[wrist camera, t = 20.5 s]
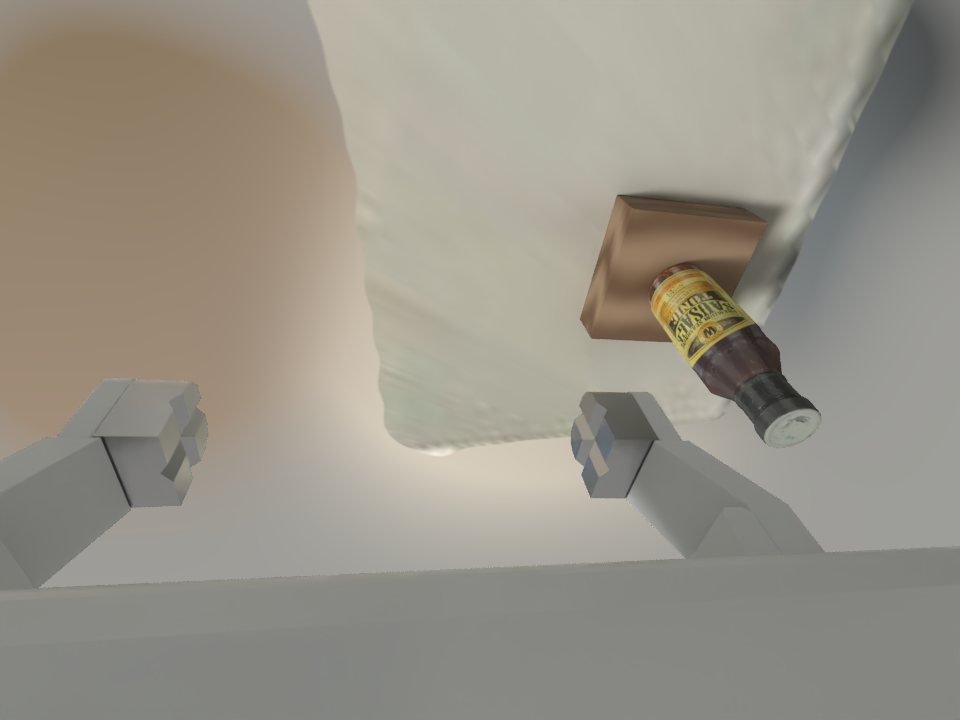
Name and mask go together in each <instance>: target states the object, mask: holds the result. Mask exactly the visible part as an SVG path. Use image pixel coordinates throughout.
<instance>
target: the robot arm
mask: <svg viewBox="0 0 960 720" xmlns="http://www.w3.org/2000/svg"><path fill="white" fill-rule="evenodd" d="M200 399H201V395H200V392H199V389H198V385H197V384H196V383H194V382H192V381H170V380H149V379H137V380H136V379H119V378H117V379H116V378H108V379H105V380H103V381H101V382H100V383H99V384H98V385H97V387H96V388H95V389H94V391H93V392H92V393H91V394H90V395H89V397H88V398H87V399H86V400H85V402H84V403H83V404H82V405H81V407H80V408H79V409H78V410H77V412H76V413H75V414H74V415H73V417H72V418H71V419H70V421H69V422H68V423H67V424H66V426H65V427H64V428H63V429H62V430H61V432H60V433H59V434H58V435H57V437H46V438H44V439H42V440H40V441H38V442H36V443H34V444H32V445H30V446H28V447H26V448H24V449H22V450H20V451H18V452H16V453H14V454H12V455H10V456H8V457H6V458H4V459H2V460H0V720H960V546H952V547H931V548H911V549H890V550H869V551H847V552H824V550H823V549H822V548H821V546H820V545H819V544H818V542H817V541H816V540H815V539H814V537H813V536H812V535H811V534H810V532H809V531H808V530H807V529H806V527H805V526H804V524H803V523H802V522H801V521H800V519H799V518H798V517H797V515H796V514H795V513H794V512H793V510H792V509H791V508H790V506H789V505H788V504H786V503H785V502H783V501H782V500H780V499H779V498H777V497H775V496H774V495H772V494H771V493H769V492H768V491H766V490H764V489H763V488H761V487H760V486H758V485H757V484H755V483H754V482H752V481H750V480H749V479H747V478H746V477H744V476H743V475H741V474H740V473H738V472H736V471H735V470H733V469H732V468H730V467H729V466H727V465H726V464H724V463H722V462H721V461H719V460H718V459H716V458H715V457H713V456H712V455H710V454H708V453H707V452H705V451H704V450H702V449H701V448H699V447H697V446H696V445H694V444H693V443H691V442H690V441H682V439H681V438H680V436H679V435H678V433H677V432H676V430H675V429H674V427H673V425H672V424H671V422H670V421H669V419H668V418H667V416H666V415H665V413H664V412H663V410H662V409H661V407H660V406H659V404H658V403H657V401H656V400H655V398H654V397H653V395H652V394H650V393H648V392H627V393H619V392H586V393H585V394H584V395H583V397H582V400H581V402H580V408H581V410H582V412H583V413H582V414H581V415H580V416H579V417H577V418H576V419H575V420H574V423H573V427H572V430H571V446H572V451H573V454H574V457H575V459H576V460H577V461H578V462H579V463H581V464H582V465H583V466H584V469H583V472H582V477H583V480H584V482H585V485H586V487H587V490H588V492H589V495H590V497H591V498H626V501H627V502H628V503H629V504H631V506H632V507H634V509H636V510H637V511H638V512H639V513H640V514H641V515H642V516H643V517H644V518H645V519H646V520H647V521H648V522H649V523H650V524H651V525H652V526H653V527H654V528H655V529H656V530H657V531H658V532H659V533H660V534H661V535H662V536H663V537H664V538H665V539H666V540H667V541H668V542H669V543H670V544H671V545H673V547H675V549H677V550H678V551H679V552H680V553H681V554H682V555H683V556H684V557H685V558H686V559H669V560H648V561H624V562H604V563H603V562H602V563H581V564H558V565H537V566H516V567H493V568H471V569H452V570H451V569H449V570H429V571H405V572H382V573H360V574H339V575H318V576H317V575H316V576H294V577H273V578H250V579H230V580H229V579H228V580H207V581H184V582H162V583H140V584H119V585H96V586H74V587H53V588H39V587H40V586H41V585H42V584H44V583H45V582H46V581H47V580H48V579H49V578H51V577H52V576H53V575H54V574H55V573H56V572H58V571H59V570H60V569H61V568H63V567H64V566H65V565H66V564H67V563H68V562H70V561H71V560H72V559H73V558H75V557H76V556H77V555H78V554H79V553H80V552H82V551H83V550H84V549H85V548H86V547H88V546H89V545H90V544H91V543H92V542H94V541H95V540H96V539H97V538H98V537H100V536H101V535H102V534H103V533H104V532H105V531H107V530H108V529H109V528H110V527H111V526H113V524H115V523H116V522H117V521H119V520H120V519H121V518H122V517H123V516H125V515H126V514H127V513H128V512H129V511H130V510H131V508H133V507H158V506H181V504H182V502H183V500H184V497H185V495H186V493H187V491H188V489H189V486H190V484H191V482H192V479H193V476H192V472H191V467H192V466H193V465H195V464H196V463H198V462H199V461H201V459H202V456H203V454H204V451H205V449H206V443H207V437H208V427H207V420H206V416H205V414H204V413H203V412H202V411H200V410H199V409H198V408H197V405H198V403H199V401H200Z"/></svg>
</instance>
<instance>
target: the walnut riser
mask: <svg viewBox="0 0 960 720" xmlns="http://www.w3.org/2000/svg"><path fill="white" fill-rule="evenodd" d="M767 224H768V223H767V222H766V221H764V220H762V219H761V218H759V217H757V216H756V215H754V214H752V213H750V212H749V211H747V210H745V209H742V208H732V207H723V206H714V205H704V204H695V203H686V202H676V201H667V200H658V199H648V198H639V197H630V196H620V195H617V198H616V201H615V205H614V208H613V211H612V215H611V218H610V221H609V225H608V228H607V231H606V235H605V238H604V241H603V245H602V248H601V251H600V255H599V258H598V261H597V265H596V268H595V271H594V275H593V278H592V281H591V285H590V288H589V291H588V295H587V298H586V301H585V305H584V308H583V311H582V315H581V318H580V320H581V321H582V323H583V325H584V327H585V328H586V330H587V332H588V334H589V335H590V337H591V339H613V340H634V341H656V342H672V340H671V339H670V337H669V336H668V334H667V333H666V331H665V330H664V328H663V327H662V326H661V324H660V323H659V321H658V320H657V319H656V317H655V316H654V314H653V312H652V310H651V307H650V304H649V298H648V292H649V290H650V288H651V285H652V284H653V282H654V281H655V279H656V278H657V277H658V276H659V275H660V274H661V273H662V272H664V271H665V270H666V269H669V268H671V267H674V266H677V265H681V264H691V265H693V266H696V267H698V268H700V269H701V270H702V271H703V272H705V273H707V274H708V275H709V276H710V277H711V278H712V279H713V280H714V281H715V282H716V283H717V284H718V285H719V286H720V287H721V288H722V289H723V290H724V291H725V292H726V293H727V294H728V295H729V296H730V297H732V295H733V293H734V291H735V289H736V287H737V285H738V283H739V281H740V279H741V277H742V275H743V273H744V270H745V268H746V266H747V264H748V262H749V260H750V258H751V256H752V254H753V252H754V250H755V248H756V246H757V244H758V242H759V240H760V238H761V236H762V234H763V232H764V230H765V228H766V226H767Z"/></svg>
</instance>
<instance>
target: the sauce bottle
mask: <svg viewBox="0 0 960 720" xmlns="http://www.w3.org/2000/svg"><path fill="white" fill-rule="evenodd" d="M648 298H649V304H650V307H651V310H652V312H653V314H654V316H655V317H656V319H657V320H658V321H659V323H660V324H661V326H662V327H663V328H664V330H665V331H666V333H667V334H668V336H669V337H670V339H671V340H672V342H673V343H674V344H675V346H676V347H677V349H678V350H679V351H680V353H681V354H682V356H683V357H684V358H685V360H686V361H687V362H688V364H689V365H690V366H691V368H692V369H693V370H694V371H695V372H696V373H697V375H698V376H699V377H700V379H701V380H702V381H703V383H704V384H705V385H706V387H707V388H708V389H709V391H710V392H711V393H713V394H715V395H718V396H720V397H723V398H726V399H730V400H733V401H735V402H736V404H737V405H738V406H739V407H740V408H741V409H742V410H743V411H744V412H745V413H746V415H747V416H748V417H749V419H750V420H751V421H752V422H753V424H754V427H755V430H756V432H757V434H758V435H759V436H760V437H761V439H762V440H763V441H764V442H765V444H767V445H768V446H771V447H775V448H785V447H790V446H793V445H796V444H798V443H800V442H802V441H804V440H805V439H807V438H808V437H810V436H811V435H812V434H813V433H814V432H815V431H816V430H817V428H818V426H819V424H820V422H821V414H820V413H819V412H818V410H817V409H816V408H815V407H814V405H813V404H812V403H811V402H810V401H809V400H808V399H806V398H804V397H802V396H801V395H800V394H798V393H797V391H795V390H794V389H793V388H792V386H791V385H790V384H789V383H788V382H787V380H786V378H785V377H784V376H783V375H782V372H781V362H780V352H779V349H778V348H777V346H776V345H775V344H774V343H773V342H772V341H771V340H769V339H768V338H767V337H766V336H765V334H764V333H763V332H762V331H761V329H760V327H759V326H758V325H757V324H756V323H755V322H754V321H753V320H752V319H751V318H750V317H749V316H748V315H747V314H746V313H745V312H744V311H743V310H742V309H741V308H740V307H739V306H738V305H737V304H736V303H735V301H734V300H733V299H732V298H731V297H730V296H729V295H728V294H727V293H726V292H725V291H724V290H723V289H722V288H721V287H720V286H719V285H718V284H717V283H716V282H715V281H714V280H713V279H712V278H711V277H710V276H709V275H708V274H707V273H705V272H703V271H702V270H701V269H700V268H698V267H696V266H693V265H691V264H681V265H677V266H674V267H671V268H669V269H666V270H665V271H664V272H662V273H661V274H660V275H659V276H658V277H657V278H656V279H655V281H654V282H653V284H652V285H651V288H650V290H649V292H648Z"/></svg>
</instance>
